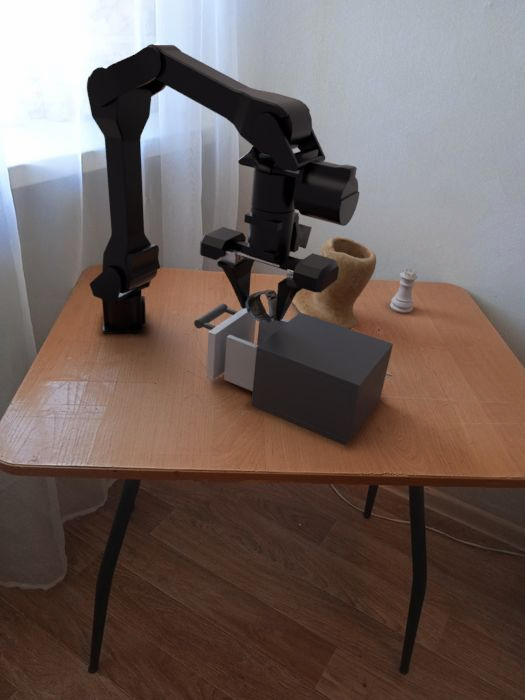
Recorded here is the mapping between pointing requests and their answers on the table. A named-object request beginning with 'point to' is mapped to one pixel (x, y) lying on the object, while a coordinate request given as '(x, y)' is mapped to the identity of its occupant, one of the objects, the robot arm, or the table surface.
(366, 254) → the stone cup
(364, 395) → the cabinet
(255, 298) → the wristwatch
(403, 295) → the rook chess piece
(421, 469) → the table surface
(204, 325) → the drawer
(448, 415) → the table surface
